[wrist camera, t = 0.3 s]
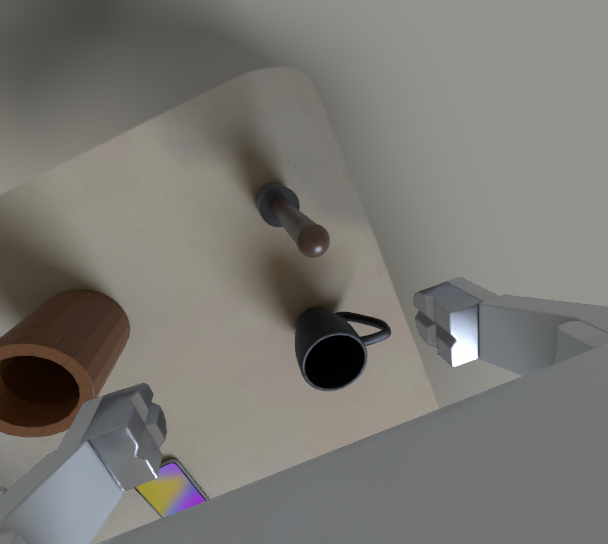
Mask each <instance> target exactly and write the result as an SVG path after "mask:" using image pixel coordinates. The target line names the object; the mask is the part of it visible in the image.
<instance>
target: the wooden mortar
mask: <svg viewBox="0 0 608 544" xmlns="http://www.w3.org/2000/svg"><path fill="white" fill-rule="evenodd" d="M129 334H130V325H129V320H128V317H127V315H126V313H125V312H124V310H123V309H122V308H121V307H120V306H119V305H118V304H117V303H116V302H115V301H114V300H112V299H111V298H109V297H107V296H105V295H103V294H100V293H98V292H94V291H89V290H71V291H66V292H63V293H60V294H58V295H55V296H54V297H52V298H51V299H49V300H48V301H46V302H45V303H43V304H42V305H41V306H40V307H38V308H37V309H36V310H35V311H33V312H32V313H31V314H30V315H28V316H27V317H26V318H25V319H23V320H22V321H21V322H20V323H18V324H17V325H16V326H14V327H13V328H12V329H11V330H9V331H8V332H7V333H6V334H4V335H3V336H2V337H1V338H0V432H3V433H5V434H8V435H14V436H21V437H43V436H50V435H53V434H57V433H60V432H64V431H66V430H67V429H69V428H70V426H71V424H72V423H73V421H74V419H75V417H76V415H77V414H78V412H79V410H80V408H81V406H82V405H83V403H85V402H87V401H88V400H91V399H94V398H97V397H98V395H99V393H100V391H101V389H102V387H103V386H104V384H105V382H106V380H107V378H108V376H109V375H110V373H111V371H112V369H113V367H114V365H115V364H116V362H117V360H118V358H119V356H120V354H121V353H122V351H123V349H124V347H125V345H126V342H127V340H128V338H129Z"/></svg>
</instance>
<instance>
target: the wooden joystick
mask: <svg viewBox="0 0 608 544" xmlns="http://www.w3.org/2000/svg"><path fill="white" fill-rule="evenodd" d="M256 206H257V209H258V211H259V213H260V214H261V216H262V218H263V219H264V221H265V222H266V223H268V224H269V225H271V226H274V227H284V229H285V230H286V231H287V233H288V234H289V235H290V236H291V238H292V239H293V240H294V242H295V243H296V244H297V247H298V249H299V251H300V252H301V253H302V254H303V255H305V256H307V257H312V258H313V257H319V256H321V255H323V254H324V253H325V252H326V251H327V249H328V247H329V244H330V238H329V234H328V232H327V231H326V229H325V228H323V227H322V226H320V225H318V224H316V223H315V222H313V221H312V220H311V219H309V218H308V217H307V216H306V215H304V214H303V213H302V212H300V211H299V200H298V198H297V196H296V194H295V193H294V192H293V191H292V190H290V189H289V188H287V187H285V186H283V185H281V184H278V183H269V184H266V185H264V186H263V187H262V188H261V189H260V190H259V191H258V193H257V196H256Z"/></svg>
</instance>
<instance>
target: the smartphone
mask: <svg viewBox="0 0 608 544" xmlns="http://www.w3.org/2000/svg"><path fill="white" fill-rule="evenodd" d="M134 488H135V490H136V491H137V492H138V493H139V494H140V495H141V496H142V497H143V498H144V499H145V500H146V501H147V503H148V504H149V505H150V506H151V507H152V508H153V509H154V510H155V511H156V512H157V513H158V515H159V516H160V517H161V518H164V517H166V516H169V515H171V514H174V513H177V512H179V511H182V510H184V509H187V508H189V507H192V506H194V505H197V504H199V503H202V502H205V501H207V500H209V499H208V498H207V497H206V495H205V494H204V493H203V492H202V490H201V489H200V488H199V486H198V485H197V484H196V483H195V481H194V480H193V479H192V478H191V476H190V475H189V474H188V473H187V471H186V470H185V469H184V467H183V466H182V465H181V464H180V462H179V461H178V460H176V459H169V460H167V461H165V462H163V463H161V465H160V470H159V475H158V478H156V479H154V480H151V481H149V482H147V483H144V484H142V485H139V486H137V487H134Z"/></svg>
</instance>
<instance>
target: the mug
mask: <svg viewBox="0 0 608 544" xmlns="http://www.w3.org/2000/svg"><path fill="white" fill-rule="evenodd" d="M346 321H351V322H358V323H362V324H366V325H370V326H373V327H376V328H379V329H381V331H379V332H377V333H374V334H370V335H367V336H361V337H359V335H358V334H357V333H356V331H355V330H354V329H353V328H352V327H351V325H350V324H349V323H348V322H346ZM390 335H391V330H390V327H389V326H388V325H387V323H385V322H384V321H382V320H380V319H377V318H373V317H369V316H365V315H360V314H356V313H351V312H337V313H333V312H331V311H329V310H327V309H325V308H323V307H313V308H309V309H307V310H306V311H304V312H303V313H302V314H301V315H300V317H299V318H298V320H297V324H296V332H295V352H296V357H297V361H298V364H299V367H300V370H301V373H302V376H303V378H304V379H305V381H306V382H307V383H308V384H309V385H310V386H312V387H314V388H315V389H318V390H322V391H335V390H339V389H342V388H345V387H347V386H348V385H350V384H352V383H353V382H354V381H355V380H357V379H358V377H359V376H360V375H361V374H362V372H363V370H364V369H365V366H366V363H367V349H366V346H368V345H371V344H374V343H377V342H380V341H382V340H385V339H386V338H388V337H389V336H390Z"/></svg>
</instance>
